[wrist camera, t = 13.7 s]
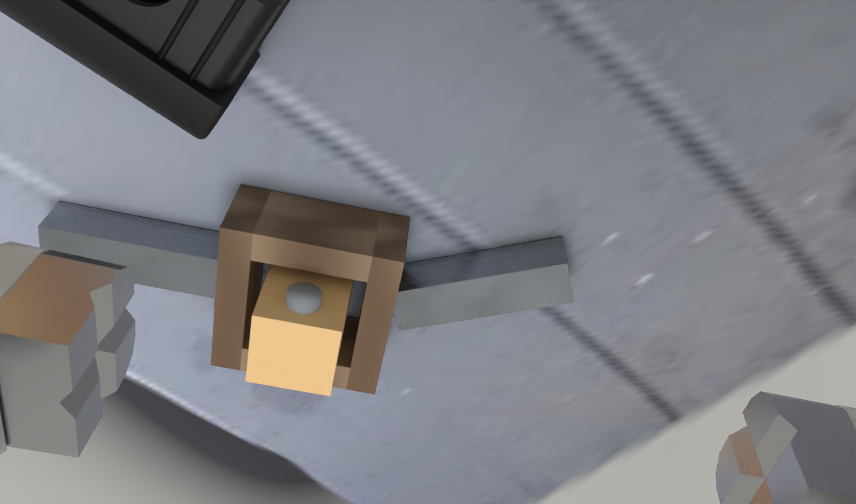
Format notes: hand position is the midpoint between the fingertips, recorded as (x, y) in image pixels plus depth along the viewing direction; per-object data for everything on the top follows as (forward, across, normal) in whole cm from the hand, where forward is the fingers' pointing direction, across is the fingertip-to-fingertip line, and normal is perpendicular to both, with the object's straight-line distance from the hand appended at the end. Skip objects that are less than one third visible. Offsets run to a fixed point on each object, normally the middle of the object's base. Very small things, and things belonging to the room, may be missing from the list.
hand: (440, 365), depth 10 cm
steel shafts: (+26, +5, +17) cm, 31 cm away
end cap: (+26, +12, +4) cm, 29 cm away
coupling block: (+26, +5, +18) cm, 32 cm away
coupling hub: (+26, +5, +18) cm, 32 cm away
